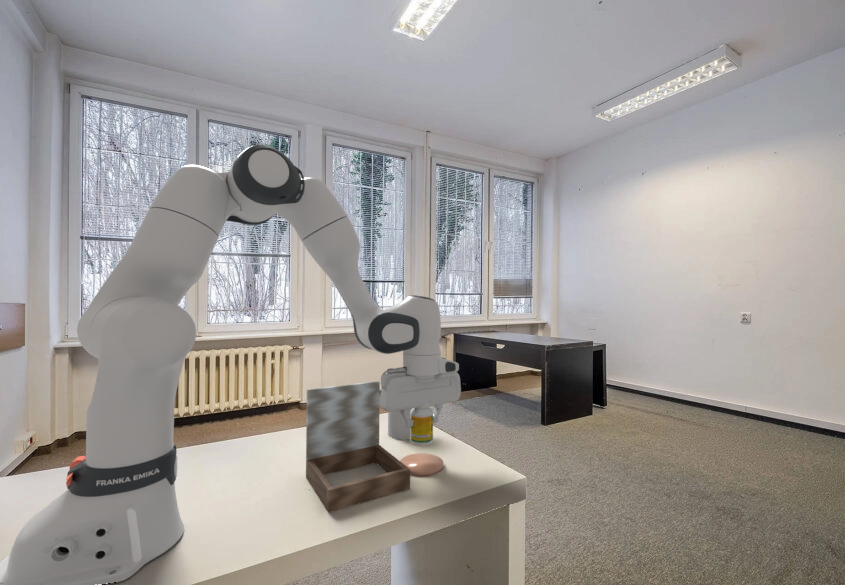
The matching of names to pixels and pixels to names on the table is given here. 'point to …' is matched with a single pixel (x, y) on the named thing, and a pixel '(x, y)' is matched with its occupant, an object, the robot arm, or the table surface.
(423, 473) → the pink flat disc
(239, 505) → the table surface
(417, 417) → the supplement bottle
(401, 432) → the white cylinder
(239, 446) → the table surface
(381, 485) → the hinged wooden box
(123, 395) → the robot arm
